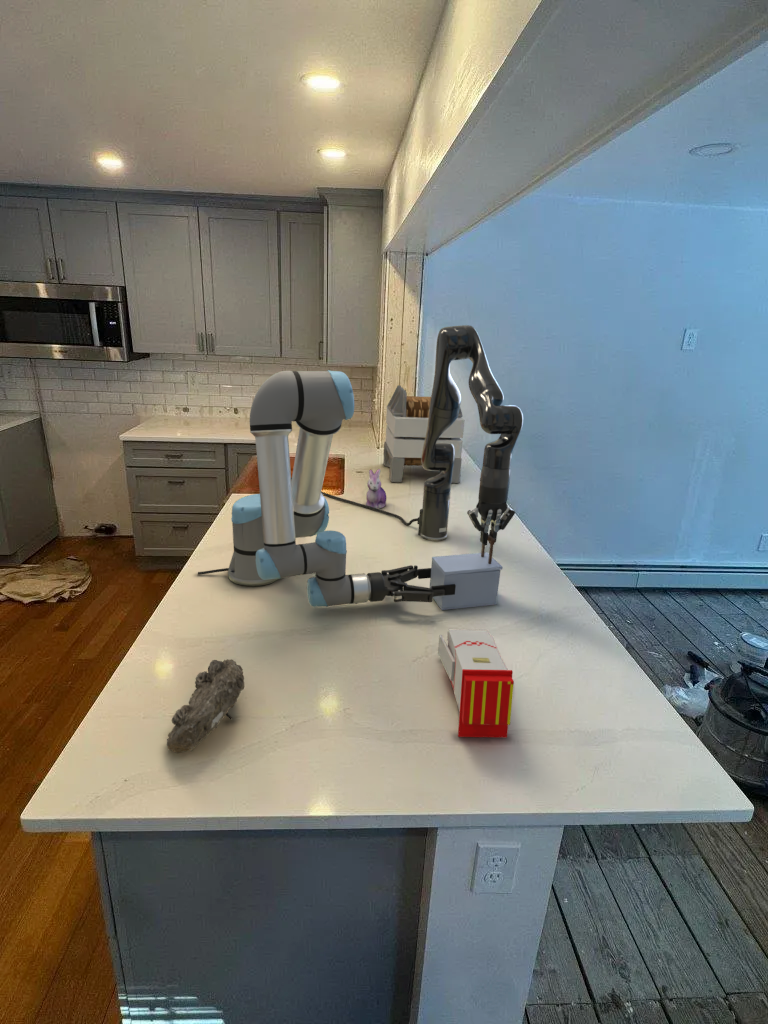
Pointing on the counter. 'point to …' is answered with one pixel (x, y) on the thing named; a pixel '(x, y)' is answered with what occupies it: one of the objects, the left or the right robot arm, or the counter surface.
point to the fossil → (206, 705)
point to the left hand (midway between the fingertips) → (447, 580)
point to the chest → (466, 588)
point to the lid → (468, 561)
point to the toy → (478, 682)
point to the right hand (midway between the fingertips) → (487, 544)
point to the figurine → (375, 491)
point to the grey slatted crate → (415, 434)
